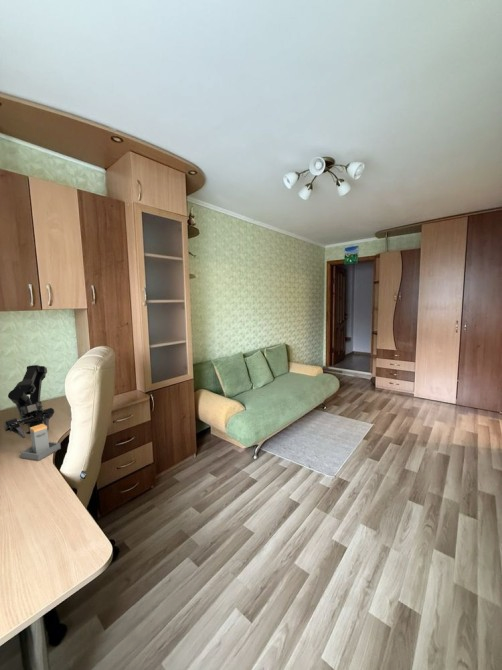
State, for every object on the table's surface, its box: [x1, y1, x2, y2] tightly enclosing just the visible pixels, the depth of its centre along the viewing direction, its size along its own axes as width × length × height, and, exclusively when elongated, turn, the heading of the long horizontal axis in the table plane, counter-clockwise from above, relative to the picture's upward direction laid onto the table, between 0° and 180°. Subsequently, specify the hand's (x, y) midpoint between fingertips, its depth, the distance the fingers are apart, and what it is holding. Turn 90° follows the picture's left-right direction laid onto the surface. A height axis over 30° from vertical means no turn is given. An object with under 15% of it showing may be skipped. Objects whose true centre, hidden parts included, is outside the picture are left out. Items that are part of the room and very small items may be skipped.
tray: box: [19, 441, 62, 462], centre depth 126 cm, size 11×11×3 cm
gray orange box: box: [29, 423, 50, 454], centre depth 125 cm, size 6×5×12 cm
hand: (36, 433), depth 127 cm, fingers open, 9 cm apart
